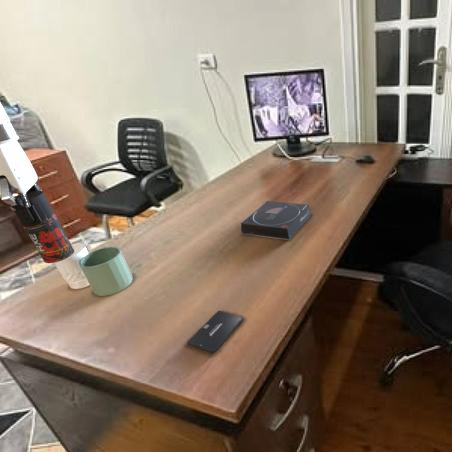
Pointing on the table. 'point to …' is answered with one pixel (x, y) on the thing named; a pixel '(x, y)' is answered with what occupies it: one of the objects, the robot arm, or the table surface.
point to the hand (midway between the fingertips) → (37, 217)
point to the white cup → (74, 267)
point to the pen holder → (106, 271)
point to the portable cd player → (276, 220)
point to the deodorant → (47, 231)
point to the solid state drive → (215, 332)
